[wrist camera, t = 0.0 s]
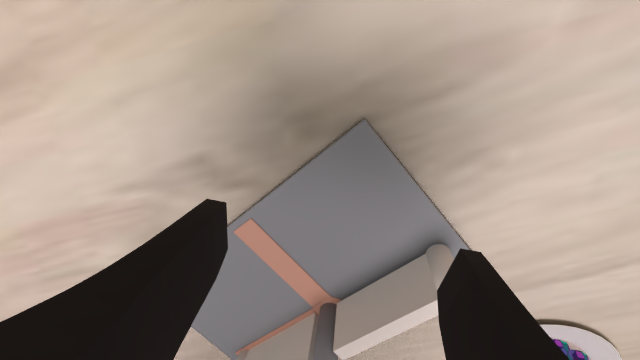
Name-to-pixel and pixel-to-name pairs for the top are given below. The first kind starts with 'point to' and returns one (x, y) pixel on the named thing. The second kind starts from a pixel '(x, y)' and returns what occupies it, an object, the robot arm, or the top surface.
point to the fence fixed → (300, 340)
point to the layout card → (319, 241)
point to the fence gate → (391, 303)
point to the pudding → (581, 343)
